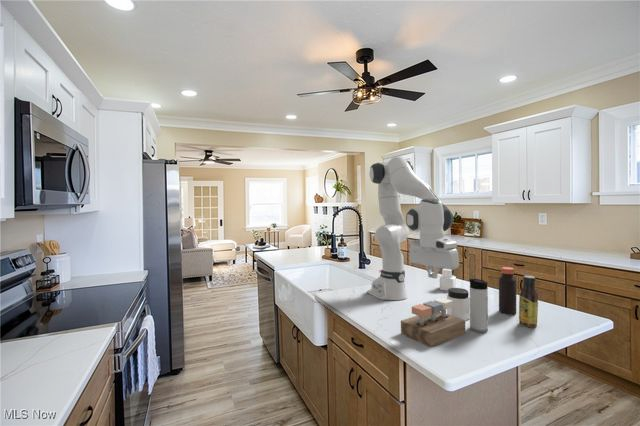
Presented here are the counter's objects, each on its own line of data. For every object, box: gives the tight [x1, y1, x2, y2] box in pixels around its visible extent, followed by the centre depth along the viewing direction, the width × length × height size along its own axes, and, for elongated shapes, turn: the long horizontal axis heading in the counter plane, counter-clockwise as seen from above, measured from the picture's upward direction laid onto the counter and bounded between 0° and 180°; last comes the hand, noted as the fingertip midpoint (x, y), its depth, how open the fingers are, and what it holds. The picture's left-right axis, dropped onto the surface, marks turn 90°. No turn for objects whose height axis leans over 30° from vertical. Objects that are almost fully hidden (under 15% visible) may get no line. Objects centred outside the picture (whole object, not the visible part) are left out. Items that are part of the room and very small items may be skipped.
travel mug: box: [469, 278, 489, 334], centre depth 123 cm, size 6×7×20 cm
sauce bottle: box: [518, 274, 539, 328], centre depth 126 cm, size 6×6×20 cm
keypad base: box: [400, 311, 466, 348], centre depth 121 cm, size 14×20×5 cm
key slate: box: [422, 300, 443, 322], centre depth 121 cm, size 5×5×8 cm
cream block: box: [433, 297, 453, 319], centre depth 124 cm, size 5×5×8 cm
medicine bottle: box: [439, 268, 457, 292], centre depth 179 cm, size 7×7×12 cm
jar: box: [446, 287, 470, 322], centre depth 136 cm, size 9×8×12 cm
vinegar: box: [498, 266, 517, 316], centre depth 141 cm, size 7×7×20 cm
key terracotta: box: [411, 303, 432, 327], centre depth 117 cm, size 5×5×8 cm
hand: (432, 277), depth 120 cm, fingers closed
